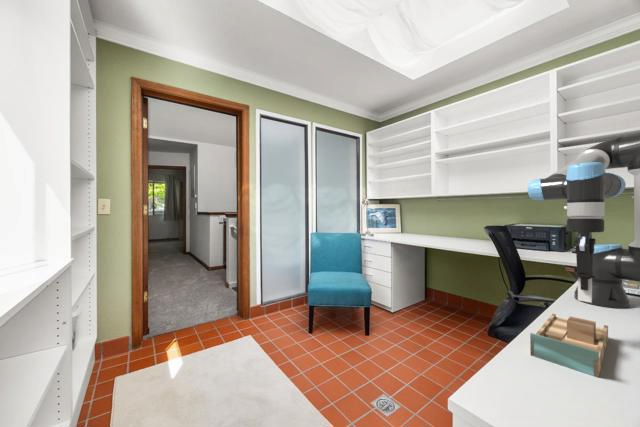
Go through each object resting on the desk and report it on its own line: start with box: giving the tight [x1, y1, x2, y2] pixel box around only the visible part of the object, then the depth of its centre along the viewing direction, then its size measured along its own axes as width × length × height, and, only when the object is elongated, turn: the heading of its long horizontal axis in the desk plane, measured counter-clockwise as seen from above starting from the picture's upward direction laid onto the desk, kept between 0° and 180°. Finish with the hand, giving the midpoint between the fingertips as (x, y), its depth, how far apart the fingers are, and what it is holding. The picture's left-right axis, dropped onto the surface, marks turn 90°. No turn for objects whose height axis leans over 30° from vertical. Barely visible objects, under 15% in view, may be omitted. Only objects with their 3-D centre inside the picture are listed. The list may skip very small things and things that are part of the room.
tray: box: [529, 313, 609, 378], centre depth 71 cm, size 27×12×6 cm, turn 129°
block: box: [567, 315, 597, 345], centre depth 70 cm, size 5×5×4 cm
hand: (584, 300), depth 74 cm, fingers closed
